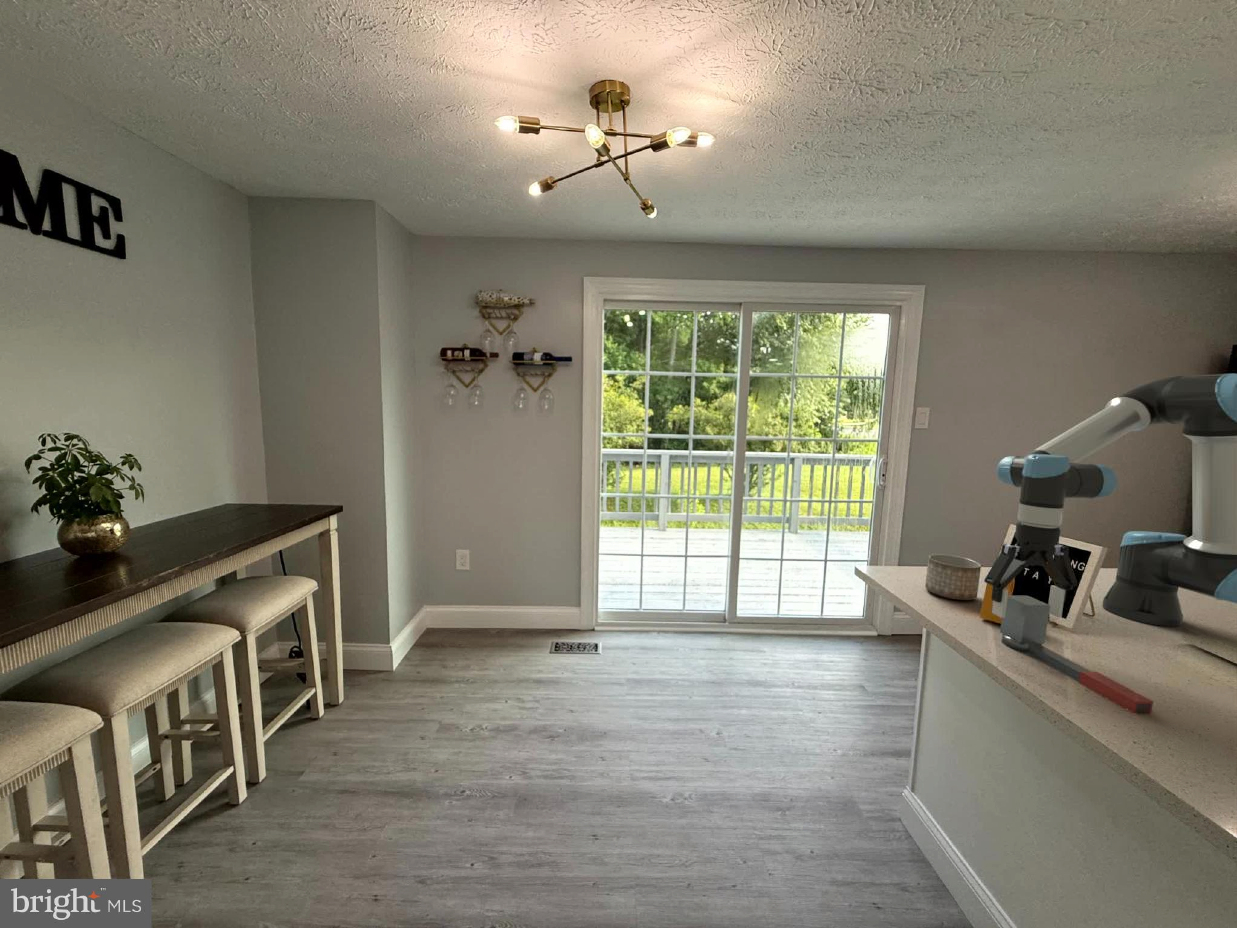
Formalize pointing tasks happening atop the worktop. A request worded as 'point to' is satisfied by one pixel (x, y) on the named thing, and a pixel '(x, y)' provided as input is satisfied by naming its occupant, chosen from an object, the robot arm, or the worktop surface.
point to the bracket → (988, 602)
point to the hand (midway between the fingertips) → (1026, 615)
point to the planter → (953, 576)
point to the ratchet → (1086, 677)
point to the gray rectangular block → (1025, 620)
